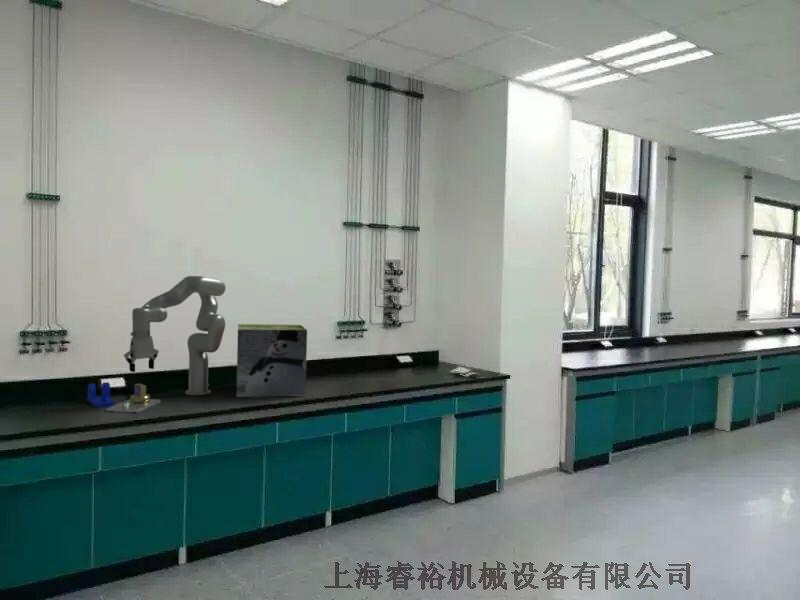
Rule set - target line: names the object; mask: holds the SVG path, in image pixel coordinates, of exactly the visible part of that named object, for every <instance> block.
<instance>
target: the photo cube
mask: <svg viewBox="0 0 800 600" xmlns="http://www.w3.org/2000/svg"><path fill="white" fill-rule="evenodd" d="M307 344H308V330H307V329H306V328H305V327H304V326H302V324H261V323H260V324H259V323H258V324H256V323H255V324H251V323H249V324H247V323H246V324H245V323H241V324H240V323H238V324H237V348H236V349H237V352H236V353H237V355H236V358H237V359H236V361H237V362H236V397H251V396H252V398H254V397H253V396H290V395H291V396H292V395H305V396H306V393H307V392H306V391H307V389H306V387H307V385H306V384H307V351H308V349H307V348H308V347H307V346H308V345H307Z"/></svg>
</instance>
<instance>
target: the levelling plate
mask: <svg viewBox="0 0 800 600" xmlns="http://www.w3.org/2000/svg"><path fill="white" fill-rule="evenodd" d="M157 403H159V404H160V403H161V399H154V398H152V399H151V398H150V401H148V402H142V403H133V402H132V401H130V399H126V400H124V401H122V402H119V403H117V404H114V406H110V407H106V412H109V411H114V413H132V412H138V413H140V412H143V411H144V409H145V410H146V408H147V409H149V408H151V407H150V406H152V407H153V405H154V406H156V405H158V404H157ZM155 404H156V405H155ZM148 407H149V408H148ZM142 410H143V411H142ZM139 411H140V412H139Z"/></svg>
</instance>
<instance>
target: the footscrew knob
mask: <svg viewBox="0 0 800 600" xmlns="http://www.w3.org/2000/svg"><path fill="white" fill-rule="evenodd" d="M150 399H151V395H150V394H147V385H145V384H142V383H135V384H134V394H131V395H130V401H132V402H133V403H142V402H148V401H150Z"/></svg>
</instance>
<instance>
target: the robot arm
mask: <svg viewBox="0 0 800 600" xmlns="http://www.w3.org/2000/svg"><path fill="white" fill-rule="evenodd" d="M225 291H226V285H225V282H223V281H222V280H220V279H216V278H210V277H206V276H201V275H188V276H185V277H183V279H181V280H180V281H179V282H178V283H177V284H175V285H174V286H173V287H172V288H171V289H169V290H168V291H166V292H164V293H161V294H159V295H156V296H154V297H153V298H151V299H150V300H148V301H147V302H146V303H144V305H142V306H141V307H135V308H133V309H132V312H131V313H132V314H131V315H132V317H131V319H132V332H130V336H132V337H131V339H130V344H129V346H130V347H129V351H127V352H126V353H124V354H123V356H124V359H125V361H126V362H127V364H129V366H128V367H129V368H128V369H129V371H130V372H132V373H135V372H136V364H135V362H136V360H141V359H142V360H143V359H149V360H148V369H150V370H154V369H155V360H156V358H157V357H158V355H159V353H160V351H159V350H158V349H156V348H155V346H154V340H153V336H152V335H151V323H162V322H164V321H166V320H167V318H168V311H167V309H166V308H171V307H176V306H178V305H181V304H182V303H184V302H185V301H186V300H187V299H188V298H189V297H190V296H192V295H193V294H195V293H197V294H198V295H199V297H200V302H201V305H200V308H199V311H198V315H197V319H196V321H195V322H196V323H195V327H196V329H197V330H199V331H201V332H195V333H192V334H191V335H189V337H187V338H188V339H187V341H186V342H187V343H186V344H187V349H188V358H189V360H188V362H189V363H188V390H186V391H185V395H188V396H204V395H205V394H206V395H210V394H211V393H212V391H211V389H208V388H209V386H210V384H209V356H208V354H209V353H210V354H211V353H215V352H218V349H219V348H220V346H221V343H222V339H223V335H224V332H225V329H226V320H225V318H224V316H222V315H221V314H218V313H217V312H218V308H219V307H218V306H219V304H218V299H217V298H216V297H220V296H223V295H224V293H225ZM202 332H203V333H202ZM204 332H206V333H204ZM206 395H205V396H206Z"/></svg>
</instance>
